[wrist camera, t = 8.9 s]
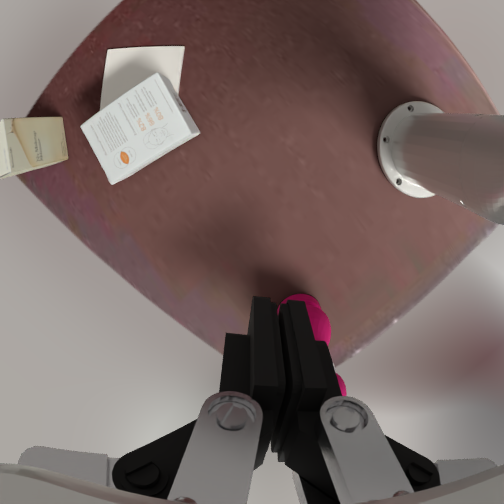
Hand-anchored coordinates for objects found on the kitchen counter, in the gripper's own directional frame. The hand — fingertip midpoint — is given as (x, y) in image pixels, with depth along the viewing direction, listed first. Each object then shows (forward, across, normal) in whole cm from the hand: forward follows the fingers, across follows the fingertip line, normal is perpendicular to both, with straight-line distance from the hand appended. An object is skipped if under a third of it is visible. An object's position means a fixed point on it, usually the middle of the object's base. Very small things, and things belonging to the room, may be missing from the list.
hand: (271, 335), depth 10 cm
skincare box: (+29, +28, -4) cm, 41 cm away
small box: (+26, +9, -9) cm, 29 cm away
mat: (+29, +16, -10) cm, 34 cm away
